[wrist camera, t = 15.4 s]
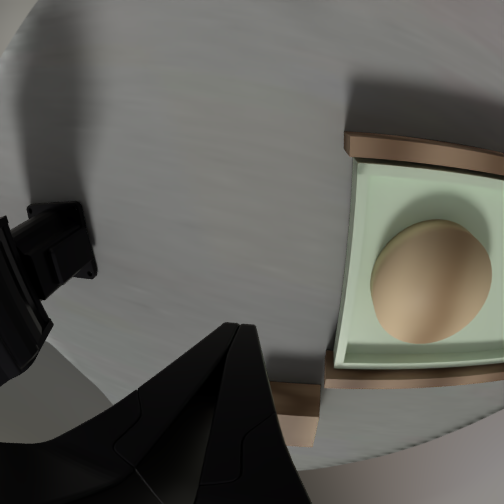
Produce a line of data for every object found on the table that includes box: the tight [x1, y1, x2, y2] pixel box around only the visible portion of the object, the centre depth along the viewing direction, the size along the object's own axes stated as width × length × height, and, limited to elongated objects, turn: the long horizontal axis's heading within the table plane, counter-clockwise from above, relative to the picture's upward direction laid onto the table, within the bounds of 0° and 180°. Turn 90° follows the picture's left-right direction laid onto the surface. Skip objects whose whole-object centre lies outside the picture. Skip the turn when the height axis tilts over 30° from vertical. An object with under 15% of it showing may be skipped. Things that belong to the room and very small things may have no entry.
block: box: [269, 381, 321, 447], centre depth 25 cm, size 5×5×4 cm
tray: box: [333, 157, 504, 369], centre depth 14 cm, size 16×14×11 cm
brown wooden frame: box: [324, 131, 504, 389], centre depth 18 cm, size 18×17×3 cm
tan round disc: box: [370, 219, 492, 344], centre depth 17 cm, size 8×8×2 cm
